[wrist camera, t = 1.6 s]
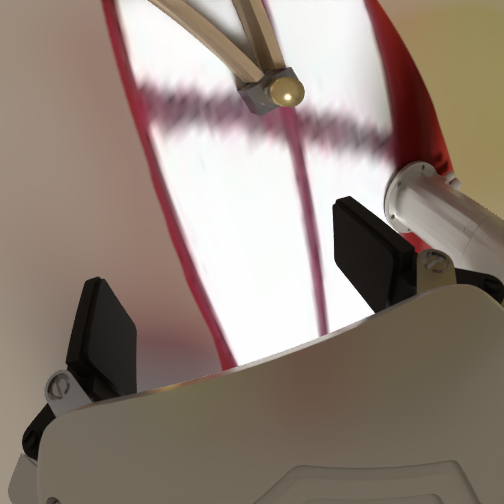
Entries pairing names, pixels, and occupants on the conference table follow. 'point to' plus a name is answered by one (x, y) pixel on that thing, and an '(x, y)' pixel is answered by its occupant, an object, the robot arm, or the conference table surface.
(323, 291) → the conference table surface
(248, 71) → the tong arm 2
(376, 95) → the conference table surface
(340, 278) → the conference table surface
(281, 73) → the tong hinge
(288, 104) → the lock button
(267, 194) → the conference table surface
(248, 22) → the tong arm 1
